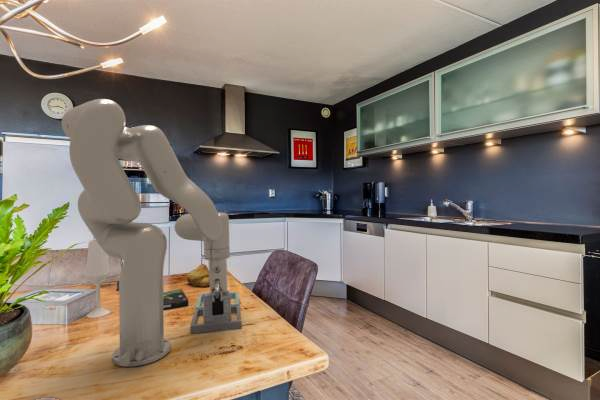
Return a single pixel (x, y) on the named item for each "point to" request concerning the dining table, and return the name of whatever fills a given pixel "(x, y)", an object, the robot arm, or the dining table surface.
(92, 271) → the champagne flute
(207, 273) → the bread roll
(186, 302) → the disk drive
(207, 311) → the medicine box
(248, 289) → the dining table surface
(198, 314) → the dock
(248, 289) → the dining table surface
